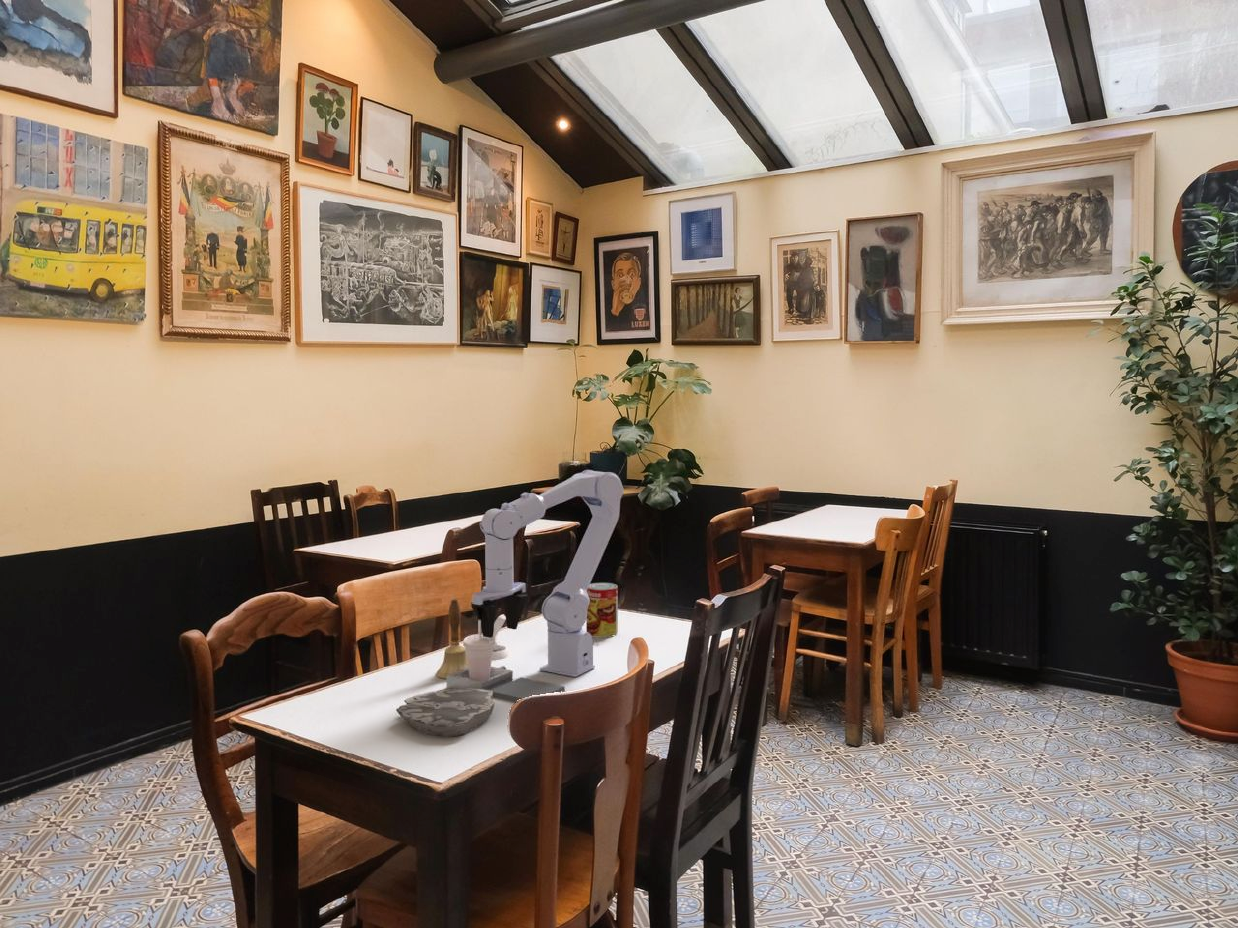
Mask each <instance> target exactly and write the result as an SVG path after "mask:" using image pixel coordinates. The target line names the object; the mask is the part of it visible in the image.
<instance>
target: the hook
mask: <svg viewBox="0 0 1238 928" xmlns="http://www.w3.org/2000/svg"><path fill="white" fill-rule="evenodd" d="M505 622H506V615H505V614H501V615H499V616H498V617H497V618H496V620H494V633H493V637H494V639H495V645H494V646H493V653H492V661H498V660H503V659H506V658H509V657H510V656H511V652H510V650H509V649H508V647H507V646H506V645H501V644H498V643H499V640H498V634H499V632H500V631H501V629H502V627H503V625H504V623H505Z"/></svg>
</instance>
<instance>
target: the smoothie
mask: <svg viewBox="0 0 1238 928" xmlns="http://www.w3.org/2000/svg"><path fill="white" fill-rule="evenodd" d="M477 623H478V625H477V627H478V628H477V629H478V633H476V634H470V635H467V636H466V637H464V639H463V640H462V641H463V642H462V647H464V648H465V650H466V657H467V663H468V670H469V677H470V679H474V680H478V681H483V680H486V679H488V678H490V670H491V667H492V661H493V660H492V653H493V652H494V651H493V646H494V645H495V639H494V637H491V638H489V637H483V634H482V630H481V620H478V619H477Z"/></svg>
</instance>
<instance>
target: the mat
mask: <svg viewBox="0 0 1238 928" xmlns="http://www.w3.org/2000/svg"><path fill="white" fill-rule="evenodd" d="M565 689H566V687H565V686H564V685H559V684H556V683H550V682H546V681H541V680H535V679H532V678H527V677H519V678H516V679H514V680H513V681H511V682H509V683H507V684H505V685H502V686H500V687H498V688H495V689H493V690H491V691H493V698H498V699H502V700H505V701H511V702H516V701H517V700H519V699H522V698H525V697H529V696H532V695H540V694H546V693H554V692H561V691H564V692H565V691H566V690H565ZM516 703H517V702H516Z"/></svg>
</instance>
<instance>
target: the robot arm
mask: <svg viewBox="0 0 1238 928" xmlns="http://www.w3.org/2000/svg"><path fill="white" fill-rule="evenodd" d="M624 492H625V489H624V486H623V484H622V481H621V478H620V477H619V476H618V474H616V473H615V472H610V471H607V472H606V471H605V472H604V471H598V470H595V471H594V470H592V469H585V470H583V471H582V472H578V473H575V474H573V475H572V476H571V477H569V478H567V479H566V480H564V481H561V483H558V484H557V485H555V486H554V487H553V486H552V487H551V488H550V489H548V490H545V491H543V492H542V493H540V494H536V493H533V492H530V493H529V492H523V493H521V494H520V497H519V498H518V499H515V500H513V501H511V502H509V503H508V502H504V503H502V504H501V507H500V509H499V508H491V509H488V510H487V511H486V512H485V513H484V514H483V516H482V518H481V521H480V522H479V527H480V530H481V532H482V533H483V534H484V537H485V538H484V541H485V542H484V548H485V549H484V550H485V551H484V552H485V554H484V555H485V556H484V558H485V561H484V562H485V566H484V567H485V586H482V589H481V590H479V592H478V591H477V592H476V593H474V594H471V598H472V599H471V603H470V604H471V608H472V610H473V612H474V614H475V616H476V617H477V621H478V620H481V634H483V637H489V638H491V637H493V633H494V623H495V617H496V614H497V610H498V608H499V605H498V604H493V603H492V601H495V600H499V599H502V602H503V605H504V611H505V617H506V620H505V622H506V628H507V629H509V630H517V628H518V624H519V621H520V616H521V614H522V610H523V607H524V606H525V604H526V602H527V600H528V594H526V591H527V590H526V588H527V586H526V585H527V584H526V583H525V582H519V581H517V582H515V581H514V577H515V576H514V574H515V573H514V537H515V536H516V534H517V532H518V531H519V530H520V529H523V528H524V527H526V526H528V525H530V524H532V523H534V522H536V521H538V520H540V519H542V518H544V516H545V514H546V510H547V509H549V508H550V509H551V508H552V507H554V506H556V505H559V504H561V503H563V502H566V501H568V500H571V499H573V498H575V497H581V498H582V500H583V501H584V502H585V504H586V505H587V506H588V508H589V509H590V512H591V515H592V517H591V519H590V522H589V524H588V526H587V529H586V530H585V533H584V535H583V537H582V539H581V542H580V544H579V546H578V548H577V551H576V553H575V555H574V557H573V560H572V562H571V564H570V565H569V568H568V571H567V573H566V575H565V577H564V579H563V581H561V582H560V583H558V584H557V585H556V586H554V587H553V589H552V592H551V593H550V594H549V595H548V596H547V597H546V598H545V599H544V601H543V602H542V605H541V615H542V617H543V619H544V620H545V621H546V625H547V664H546V665H545V664H544V665H542V666H541V667H539V670H540V671H543V672H549V673H554V674H559V675H564V676H569V677H573V678H576V677H578V676H580V675H582V674H585V673H586V672H588V671H590V670H593V669H595V668H596V666H595V665H594V640H593V636H591V634H590V633H588V632H586V631H585V630H583V629H582V628H583V627H584V625H585V623H586V619H587V609H588V606H589V603H590V600H589V597H588V594H587V589H588V587H589V585H590V584H591V582H592V580H593V577H594V575H595V573H596V571H597V569H598V566H599V564H600V562H601V561H602V557H603V556H604V553H605V550H606V549H607V546H608V544H609V541H610V540H611V537H612V535H613V532H614V531H615V528H616V526H617V523H618V521H619V518H620V509H621V506H620V505H621V499H622V497H623V494H624Z"/></svg>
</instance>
